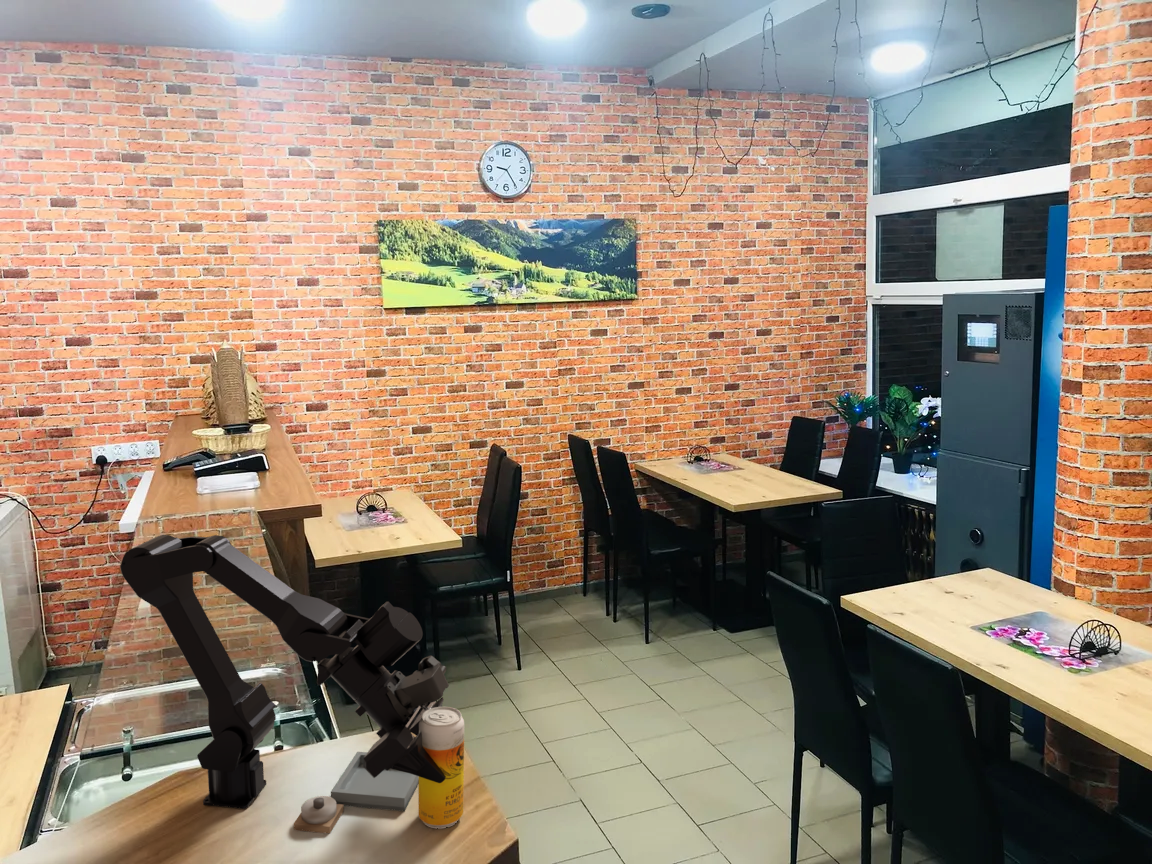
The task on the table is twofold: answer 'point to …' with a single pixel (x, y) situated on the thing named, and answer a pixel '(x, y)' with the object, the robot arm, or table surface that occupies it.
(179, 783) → the table surface
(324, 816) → the desk bell
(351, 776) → the tray
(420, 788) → the beer can
